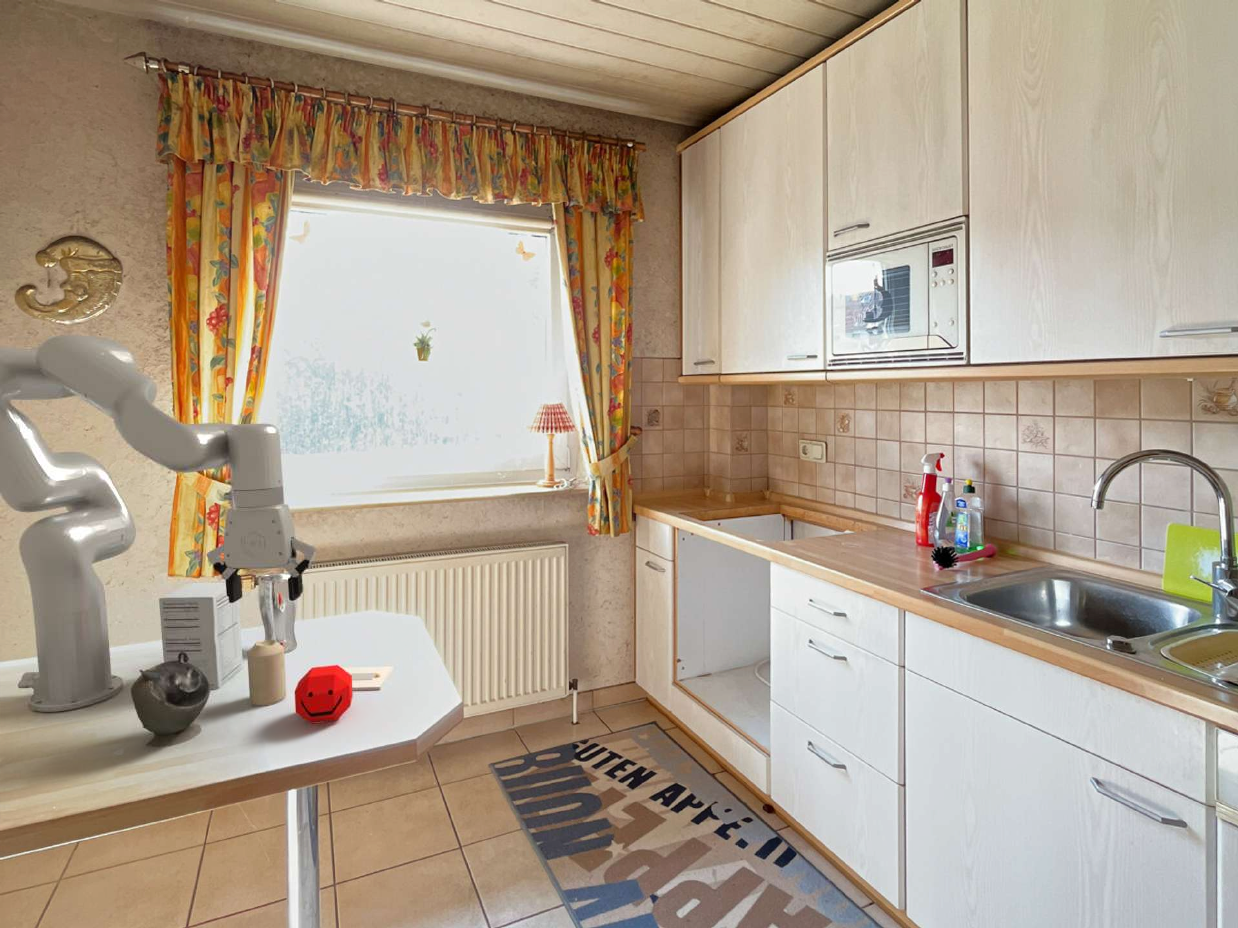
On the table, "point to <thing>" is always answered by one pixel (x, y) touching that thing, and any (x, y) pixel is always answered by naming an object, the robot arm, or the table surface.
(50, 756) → the table surface
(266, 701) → the candle
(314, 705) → the ball
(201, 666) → the supplement box
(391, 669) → the card
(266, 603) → the beer glass
